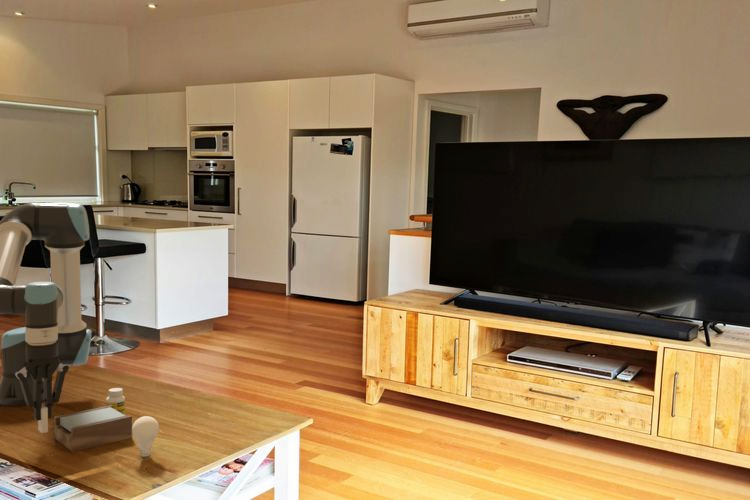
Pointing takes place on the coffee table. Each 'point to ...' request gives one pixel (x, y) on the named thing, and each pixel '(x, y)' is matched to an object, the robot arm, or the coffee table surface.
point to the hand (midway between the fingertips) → (43, 431)
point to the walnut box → (93, 432)
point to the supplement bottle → (116, 399)
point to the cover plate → (89, 418)
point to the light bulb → (145, 434)
